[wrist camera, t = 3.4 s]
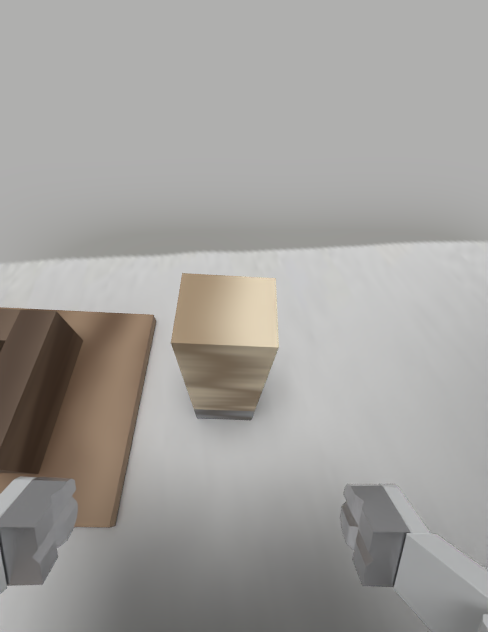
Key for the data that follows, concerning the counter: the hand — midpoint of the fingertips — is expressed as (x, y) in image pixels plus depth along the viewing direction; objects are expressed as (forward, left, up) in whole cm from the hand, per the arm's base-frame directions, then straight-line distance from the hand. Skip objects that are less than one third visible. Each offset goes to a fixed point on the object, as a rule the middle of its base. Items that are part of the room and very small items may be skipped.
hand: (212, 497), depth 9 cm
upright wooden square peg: (0, -7, -14) cm, 16 cm away
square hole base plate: (+18, -6, -14) cm, 24 cm away
